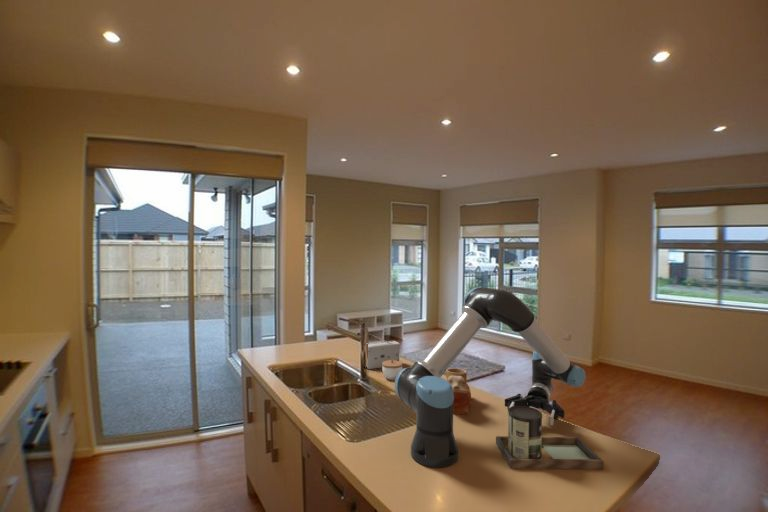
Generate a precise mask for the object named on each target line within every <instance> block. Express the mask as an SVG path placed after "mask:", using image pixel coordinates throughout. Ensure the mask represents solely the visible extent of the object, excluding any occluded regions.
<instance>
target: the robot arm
mask: <svg viewBox="0 0 768 512" xmlns="http://www.w3.org/2000/svg"><path fill="white" fill-rule="evenodd" d="M461 312H462V313H461V314H460V315H459V316H458V318H457V319H456V320H455V322H453V324H452V325H451V326H450V327H449V328H448V329H447V331H446V332H445V333H444V335H442V336H441V338H440V339H439V340H438V342H437V343H435V345H434V346H433V347H432V349H431V350H430V351H429V352H428V354H427V355H426V356H424V358H422V360H415V362H414V363H413V365H412V366H410V367H405V368H402V370H401V371H400V372H399V373H398V375H397V377H396V379H395V380H394V390H395V393H396V395H397V397H398V398H399V399H400V401H401V402H403V404H406V405H407V406H408V407H409V408H410V409H412V410H413V411H414V412H415V414H416V428H415V432H414V435H413V437H412V440H411V444H410V456H411V457H412V459H413V460H414V461H415V462H417V463H419V464H421V465H423V466H426V467H430V468H445V467H450V466H452V465H454V464H455V463H456V462H457V461H458V459H459V447H458V444H457V440H456V438H455V434H454V414H453V401H454V395H453V387H452V385H451V384H450V383H449V382H448V381H447V380H445V379H446V378H443V377H442V376H443V375H444V374H445V373H446V370H447V369H450V367H451V365H452V364H453V363H454V361H455V360H456V359H457V358H458V356H459V355H460V354H461V353H462V352H463V350H464V349H465V348H466V347H467V345H469V343H470V342H471V340H473V338H474V337H475V335H477V333H478V332H479V331H480V329H487V327H488V326H489V325H490V324H491V322H493V321H495V322H499V323H501V324H504V325H506V326H507V327H508V328H509V329H511V331H513V332H514V333H518V334H519V335H520V337H522V339H523V340H524V341H525V342H526V343H527V345H529V346H530V348H531V349H532V350H533V351H532V359H531V363H532V364H531V365H532V366H531V367H532V368H531V369H532V372H531V373H532V374H531V375H532V376H531V378H532V379H531V380H532V381H531V387H530V388H529V390H528V393H527V394H526V395H525V396H522V394H521V393H517V394H516V395H514V396H510V397H507V398H505V399H504V407H505V408H506V407H507V410H508V409H509V408H510V407H512V406H527V407H531V408H534V409H537V410H538V409H539V410H542V411H545V412H547V413H549V414H550V417H549V418H550V420H549V422H550V426H554V421H558V420H559V417H560V419H565V410H564V409H563V408H562V407H561V406H560V405H559V403H557V400H554V399H553V400H551V401H550V396H551V394H552V392H553V379H554V380H557V381H559V382H562V383H564V384H565V385H568V386H573V387H574V388H578V387H581V386H582V385H583V384H584V382H585V381H586V376H587V375H586V371H585V370H584V369H583V368H582V367H580V366H578V365H574V363H572V362H571V360H570V359H569V358H568V357H567V356H566V355H565V353H564V352H563V351H562V350H561V349H560V348H559V346H558V345H557V344H556V343H555V341H554V340H552V338H551V337H550V336H549V335H548V333H546V332H545V330H544V329H543V328H542V326H541V325H540V324H539V323H538V322H537V321H536V319H535V318H536V317H535V316H536V315H535V314H534V313H533V312H532V311H531V309H530V307H528V306H527V305H526V304H525V302H523V301H522V300H521V299H520V298H519V297H517V296H516V295H515V294H513V292H510V291H508V290H505V289H497V288H491V287H486V286H480V287H474V288H472V289H470V290H469V291H468V292H467V293H466V294H465V296H464V301H463V306H462V307H461Z"/></svg>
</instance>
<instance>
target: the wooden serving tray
mask: <svg viewBox="0 0 768 512" xmlns="http://www.w3.org/2000/svg"><path fill="white" fill-rule="evenodd" d="M495 445H496V446H497V448H498V449H499V451H500V453H501V455H502V457H503V459H504V461H506V463H507V465H508V467H509V468H510V469H531V470H533V469H534V470H535V469H538V470H540V469H543V470H545V469H547V470H549V469H550V470H551V469H552V470H604V460H603V459H602V458H601V457H600V456H598V454H597V453H595V452H594V451H593V450H592V449H591V448H590V447H589V446H588V445H587V444H586V443H585V442H584V441H583V440H582V439H581V438H580V437H578V436H574V437H573V436H542V445H576V446H577V447H578V448H579V449H580V450H581V451H582V452H583V453H584V454H585V455H586V456H587V457H588V458H589V459H552V458H542V459H513V458H512V456H511V455H510V453H509V452H508V449H507V448H508V447H506V446H508V436H506V435H505V436H504V435H503V436H501V435H500V436H499V435H498V436H497V435H496V436H495Z"/></svg>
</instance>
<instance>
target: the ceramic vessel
mask: <svg viewBox="0 0 768 512" xmlns="http://www.w3.org/2000/svg"><path fill="white" fill-rule="evenodd" d="M467 373H468V372H467V370H465V369H463V368H459V367H451V368H450V367H449V368H448V369H447V370H446V371H445V375H446V377H445V378H444V379H445V380H447V381H448V382H449V383H450V384H451V385H452V387H453V395H454V401H453V415H468V414H470V407H471V405H472V393H471V388H470V385H469V384H468V383H467V378H468V377H467V375H468V374H467Z"/></svg>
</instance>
